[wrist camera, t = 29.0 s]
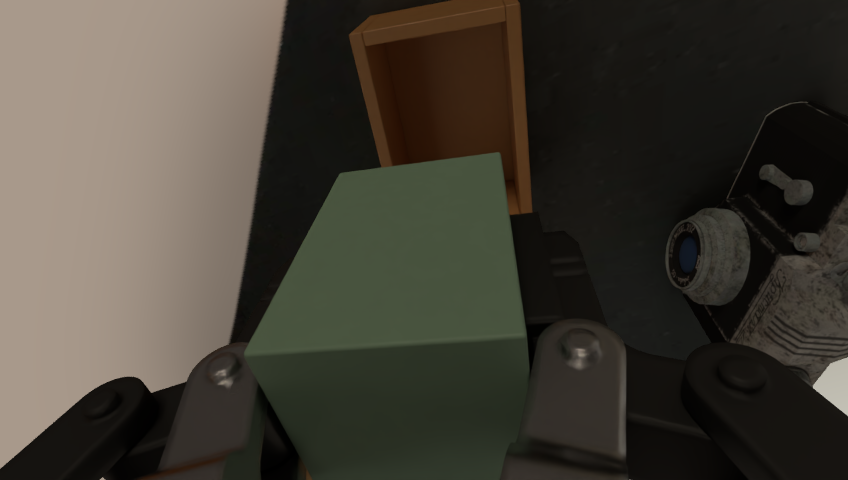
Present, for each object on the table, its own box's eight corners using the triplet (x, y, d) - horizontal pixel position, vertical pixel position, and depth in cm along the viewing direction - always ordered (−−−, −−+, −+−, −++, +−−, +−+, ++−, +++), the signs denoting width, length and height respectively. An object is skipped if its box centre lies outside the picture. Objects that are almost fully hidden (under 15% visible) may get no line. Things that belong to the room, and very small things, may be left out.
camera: (713, 92, 25) (837, 174, 16) (844, 101, 24) (1037, 189, 16) (631, 301, 33) (686, 425, 25) (728, 309, 33) (816, 438, 24)
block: (339, 172, 12) (240, 354, 7) (500, 150, 11) (527, 335, 6) (376, 294, 14) (323, 502, 9) (512, 282, 13) (539, 499, 8)
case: (369, 15, 24) (347, 34, 20) (510, -11, 23) (519, 2, 18) (409, 196, 30) (399, 242, 25) (523, 182, 28) (533, 227, 24)
